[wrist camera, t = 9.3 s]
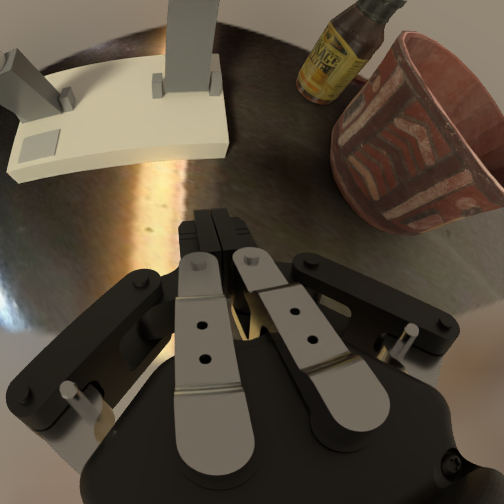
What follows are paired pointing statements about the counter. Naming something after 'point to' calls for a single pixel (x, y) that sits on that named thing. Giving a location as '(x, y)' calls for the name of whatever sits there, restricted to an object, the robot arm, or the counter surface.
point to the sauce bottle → (344, 49)
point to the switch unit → (121, 121)
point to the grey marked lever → (26, 88)
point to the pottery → (419, 142)
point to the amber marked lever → (189, 44)
